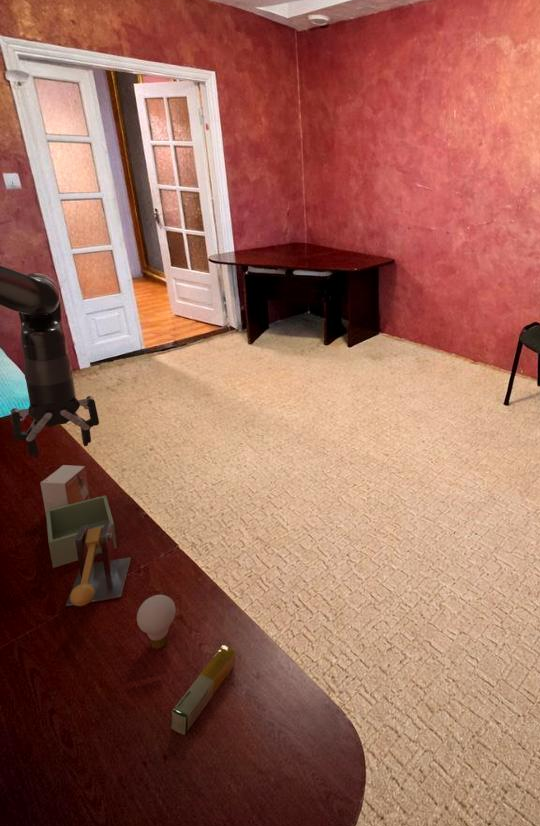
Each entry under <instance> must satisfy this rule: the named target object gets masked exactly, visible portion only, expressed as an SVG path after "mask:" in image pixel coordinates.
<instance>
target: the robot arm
mask: <svg viewBox="0 0 540 826" xmlns="http://www.w3.org/2000/svg"><path fill="white" fill-rule="evenodd" d="M0 306H2V307H3V308H6V309H9V310H12V311H14V312H16V313H17V312H18V317H19V321H20V326H21V327H20V344H21V352H22V357H23V372H24V380H25V382H26V390H27V395H28V400H29V407H28V408H23V409H18V408H16V407H15V408H12V409H11V410H10V416H11V417H10V418H11V425H12V436H13V440H14V441H15V442H20V441H24V442H26V445H27V451H28V454H29V456H33V458H39V451H38V445H37V441H36V437H37V435H38V434H39V433H40V432H41V431H42V430H43V429H44V427H48V428H50V427H54V426H57V425H66V424H68V422H71V423H73V424H74V425H75V426H78V427H79V428H80V433H81V440H82V445H83V447H88V446H89V444H90V443H91V442H92V437H91V428H92V427H95V426H98V425H100V420H99V415H98V409H97V405H96V401H95V399H94V397H93V396H92V395H88V396H86V398H83V399H77V397H76V389H75V382H74V376H73V374H74V371H73V368H72V362H71V360H70V359H71V358H70V356H69V351H68V344H67V338H66V334H65V333H66V332H65V330H64V327H63V319H62V318H63V317H62V303H61V294H60V288H59V286H58V284H57V283H56V282H55V280H54V279H52V278H51V277H49V276H47V275H45V274H43V273H37V272H33V273H27V274H26V273H22V272H20V271H17V270H15V269H12V268H9V267H5V266H3V265H2V264H0ZM80 407H83V408H84V409H85V410H87V411H88V414H89V419H87V420H85V418H83V417H82V416H81V415H79V414H78V413H77V411H78V410H79V409H80ZM28 415H29V416H30V417H31V418H32V419H34V420H33V421H32V422H31V424H30V426H29V428H28V429H27V430H26V431H22V426H21V425H22V424H21V422H23V421H24V420H26V416H28Z"/></svg>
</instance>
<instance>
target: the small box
mask: <svg viewBox="0 0 540 826" xmlns="http://www.w3.org/2000/svg"><path fill="white" fill-rule="evenodd" d="M39 483H40V488H41V489H40V490H41V495H42V500H43V506H44V511H45V513H46V510H49V509H53V508H57V507H61V506H65V505H69V504H73V503H77V502H81V501H85V500H89V499H91V497H90V491H89V483H88V476H87V469H86V466H85V465H70V464H69V465H68V464H67V465H66V464H63V465H61V466H59V468H58V469H56V470H55V471H53V472H52V473H51V474H50V475H49V476H47V477H46V478H45V479H43V480H42V481H40V482H39Z"/></svg>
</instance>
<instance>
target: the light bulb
mask: <svg viewBox="0 0 540 826" xmlns="http://www.w3.org/2000/svg"><path fill="white" fill-rule="evenodd" d="M176 611H177V610H176V604H175V602H174V600H173V599H172V597H169V596H168V595H165V594H155V595H151V596H150V597H148V598H146V599H145V600H144V601H143V602H142V604H140V606H139V608H138V610H137V613H136V624H137V626H138V628H139V630H141V631H142V632H144V633H145V634H147V636H148V638H149V642H150V647H151V648H152V649H155V650H157V649H161V648H163V647H164V646H166V645H167V643H168V641H169V638H168V636H169V635H168V633H169V629H170V626H171V625H172V623H173V622H174V619H175V617H176Z"/></svg>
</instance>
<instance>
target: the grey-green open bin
mask: <svg viewBox="0 0 540 826" xmlns="http://www.w3.org/2000/svg"><path fill="white" fill-rule="evenodd" d="M45 518H46V528H47V529H46V530H47V531H46V532H47V541H48V542H47V543H48V546H49V547H48V548H49V553H50V558H51V559H50V560H51V564H52V569H54V568H58V567H61V566H64V565H67V564H71V563H73V562H78V556H77V550H76V544H75V539H76V537H77V534H78V532H79V530H80V527H81V525H87V527H88V529H96V528H101V529H102V530H103V527H104V524H105V522H111V527H112V532H113V543H114V550H115V549H118V545H117V537H116V528H115V523H114V522H115V521H114V519H113V515H112V511H111V507H110V504H109V500H108V497H107V495H102V496H97V497H94V498H90V499H89V500H85V501H81V502H77V503H73V504H69V505H65V506H61V507H57V508H53V509H49V510H46V512H45ZM99 554H100V555H101V554H102V549H101V548H96V553H95V556H96V555H99Z"/></svg>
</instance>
